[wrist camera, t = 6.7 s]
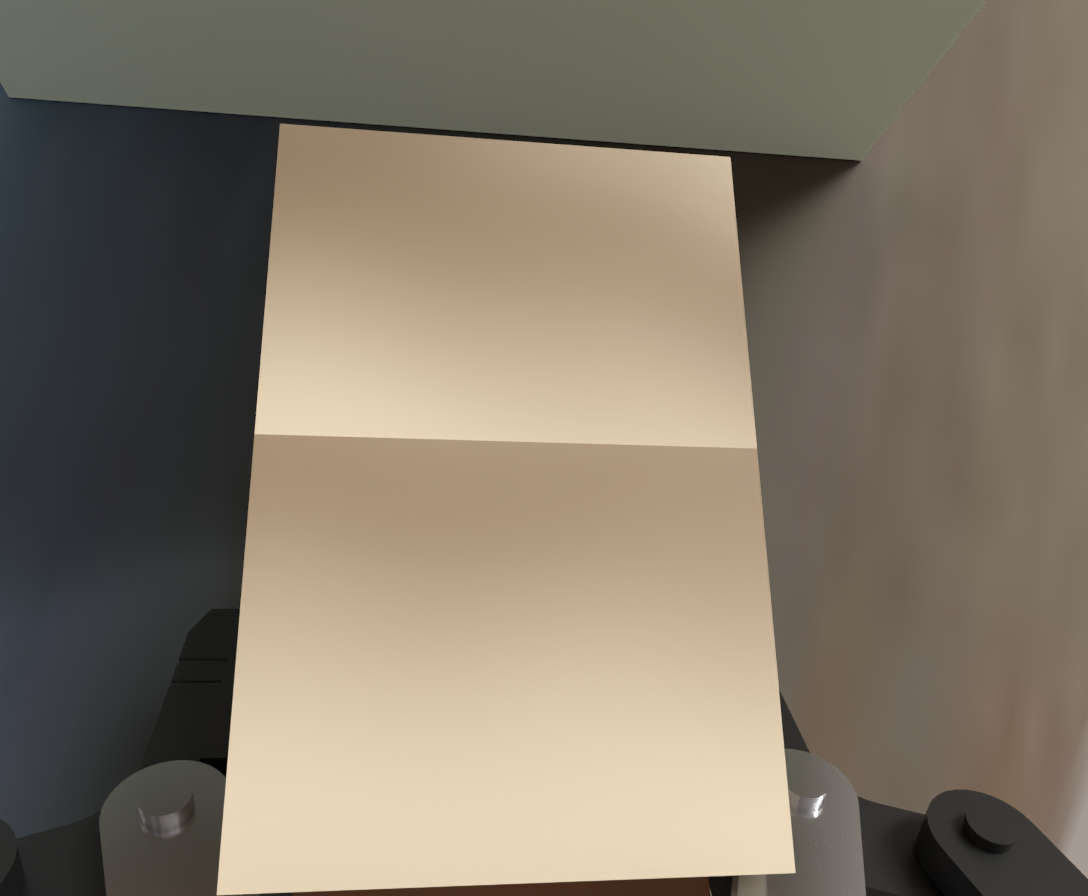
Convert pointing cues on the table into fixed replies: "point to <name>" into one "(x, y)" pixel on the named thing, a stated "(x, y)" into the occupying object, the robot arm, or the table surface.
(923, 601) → the table surface
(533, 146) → the wall cabinet
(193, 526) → the table surface
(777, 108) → the wall board
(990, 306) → the table surface
